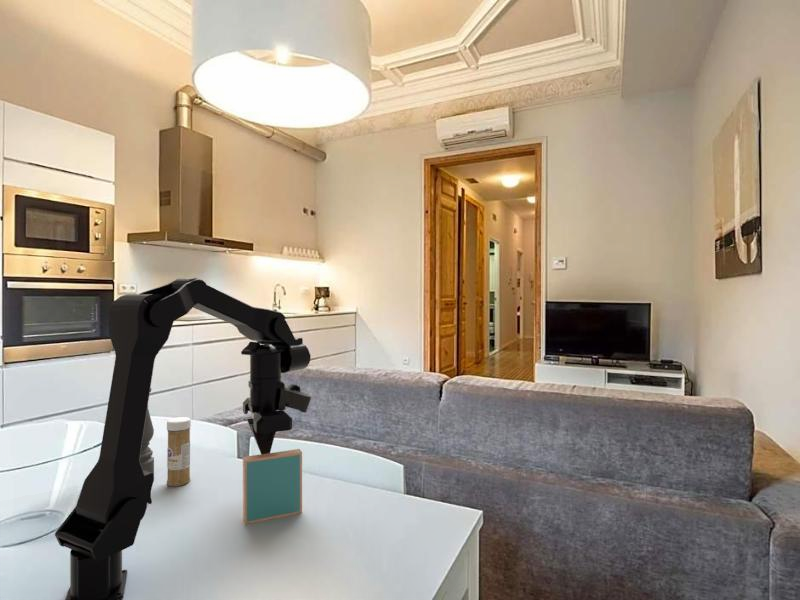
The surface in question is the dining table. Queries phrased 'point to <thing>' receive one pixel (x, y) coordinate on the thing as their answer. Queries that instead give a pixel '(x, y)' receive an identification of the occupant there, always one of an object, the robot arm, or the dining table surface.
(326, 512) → the dining table surface
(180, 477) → the sprinkles bottle
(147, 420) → the candle holder
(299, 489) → the tile
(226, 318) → the robot arm
